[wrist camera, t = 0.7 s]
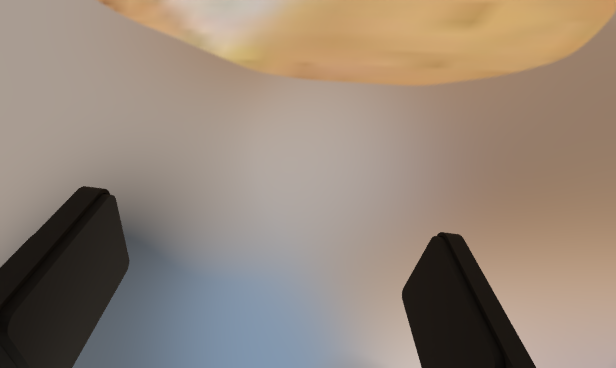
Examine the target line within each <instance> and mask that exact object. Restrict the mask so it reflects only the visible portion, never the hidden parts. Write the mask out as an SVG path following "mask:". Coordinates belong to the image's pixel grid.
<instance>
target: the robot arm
mask: <svg viewBox="0 0 616 368" xmlns="http://www.w3.org/2000/svg"><path fill="white" fill-rule="evenodd" d="M128 266H129V257H128V252H127V248H126V243H125V238H124V234H123V230H122V225H121V220H120V216H119V211H118V207H117V202H116V198H115V196H113V195H110V193H109V191H108V190H107V189H101V188H94V187H86V186H83V187H81V188H79V189H78V190H77V191H76V192H75V193H74V194H73V195H72V196H71V197H70V198H69V199H68V200H67V201H66V202H65V203H64V204H63V205H62V206H61V207H60V208H59V210H57V212H55V214H54V215H53V216H52V217H51V218H50V219H49V220H48V221H47V222H46V223H45V224H44V225H43V226H42V227H41V228H40V229H39V230H38V231H37V232H36V233H35V234H34V235H32V236H31V237H30V238H29V239H28V240H27V241H26V242H25V243H24V244H23V245H22V246H21V247H20V248H19V249H18V250H17V251H16V253H14V254H13V255H12V256H11V257H10V258H9V259H8V261H7V262H6V263H5V264H4V265H3V266H2V267H1V268H0V368H72V367H73V365H74V363H75V361H76V360H77V358H78V356H79V355H80V353H81V351H82V349H83V347H84V346H85V344H86V342H87V340H88V339H89V337H90V335H91V333H92V332H93V330H94V328H95V326H96V325H97V323H98V321H99V319H100V317H101V316H102V314H103V312H104V310H105V309H106V307H107V305H108V303H109V302H110V300H111V298H112V296H113V294H114V293H115V291H116V289H117V288H118V285H119V284H120V282H121V281H122V279H123V277H124V275H125V273H126V272H127V269H128ZM402 300H403V303H404V307H405V310H406V314H407V318H408V321H409V325H410V328H411V332H412V335H413V339H414V342H415V346H416V349H417V353H418V356H419V360H420V363H421V367H422V368H536V366H535V365H534V363H533V361H532V359H531V358H530V356H529V354H528V352H527V351H526V349H525V347H524V345H523V344H522V342H521V340H520V338H519V336H518V335H517V333H516V331H515V329H514V328H513V326H512V324H511V322H510V320H509V319H508V317H507V315H506V313H505V312H504V310H503V308H502V306H501V304H500V303H499V301H498V299H497V297H496V296H495V294H494V292H493V290H492V288H491V287H490V285H489V283H488V281H487V279H486V278H485V276H484V274H483V272H482V271H481V269H480V267H479V265H478V263H477V262H476V260H475V258H474V256H473V255H472V253H471V251H470V250H469V247H468V246H467V244H466V242H465V241H464V239H463V237H462V236H460V235H459V234H451V233H444V232H440V233H439V234H438V235H437V236H434V237H432V239H431V240H430V242H429V244H428V245H427V247H426V249H425V251H424V253H423V254H422V256H421V258H420V260H419V261H418V263H417V265H416V267H415V269H414V270H413V272H412V274H411V276H410V277H409V279H408V281H407V283H406V284H405V286H404V288H403V291H402Z"/></svg>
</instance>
